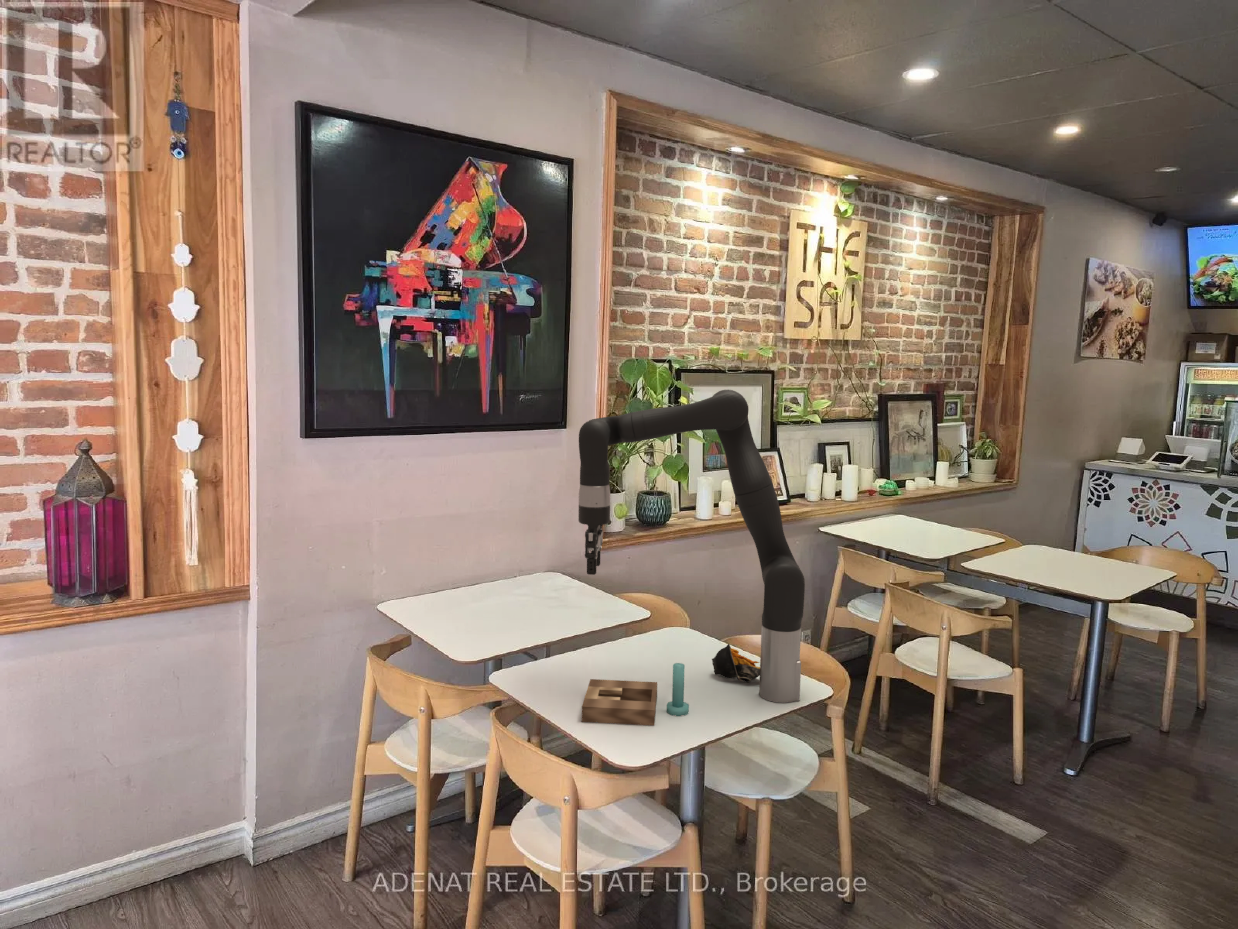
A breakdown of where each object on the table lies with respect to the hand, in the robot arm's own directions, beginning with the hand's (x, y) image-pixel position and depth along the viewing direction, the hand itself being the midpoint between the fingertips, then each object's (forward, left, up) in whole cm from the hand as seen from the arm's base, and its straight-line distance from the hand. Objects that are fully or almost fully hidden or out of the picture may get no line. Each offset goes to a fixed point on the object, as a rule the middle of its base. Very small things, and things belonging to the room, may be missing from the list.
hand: (593, 569), depth 197 cm
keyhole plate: (-8, +12, -29) cm, 33 cm away
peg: (-21, +12, -29) cm, 38 cm away
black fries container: (-38, -9, -30) cm, 49 cm away
